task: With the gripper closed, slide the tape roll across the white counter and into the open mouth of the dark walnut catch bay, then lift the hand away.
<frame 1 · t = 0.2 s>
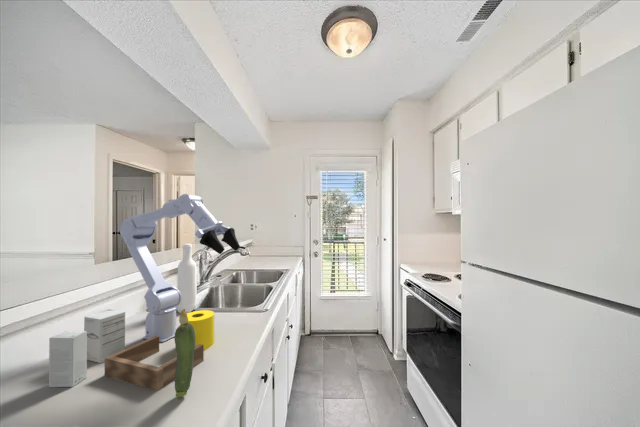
hand: (230, 250, 86), 31 cm above the worktop, tool tilted 45°, fingers open, 7 cm apart
tape roll: (197, 345, 88), on the worktop
catch bay: (158, 366, 74), on the worktop
bottle: (187, 310, 122), on the worktop
supplement box: (104, 356, 81), on the worktop
skincare box: (68, 383, 67), on the worktop
vegetable: (185, 395, 62), on the worktop
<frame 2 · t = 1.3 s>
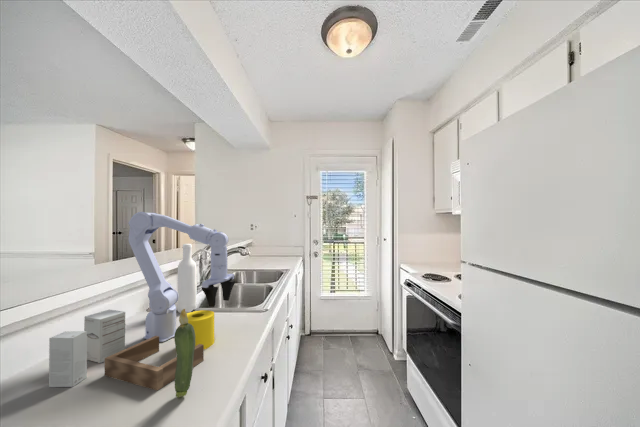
hand: (219, 303, 97), 10 cm above the worktop, tool pointing down, fingers open, 7 cm apart
nothing on the worktop moved.
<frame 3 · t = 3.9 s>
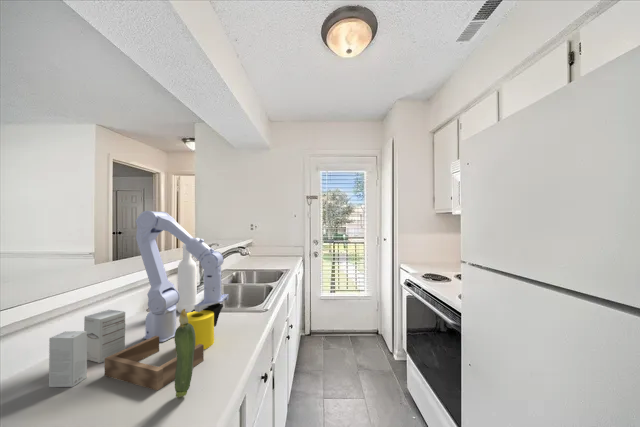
hand: (212, 326, 94), 3 cm above the worktop, tool pointing down, fingers closed
tape roll: (197, 345, 87), on the worktop, touching gripper
everything else where it was.
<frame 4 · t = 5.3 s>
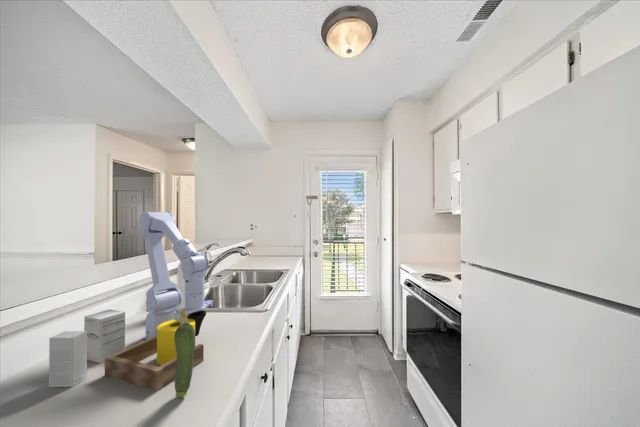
hand: (194, 335, 86), 3 cm above the worktop, tool pointing down, fingers closed
tape roll: (176, 357, 80), on the worktop, touching gripper
everything else where it was.
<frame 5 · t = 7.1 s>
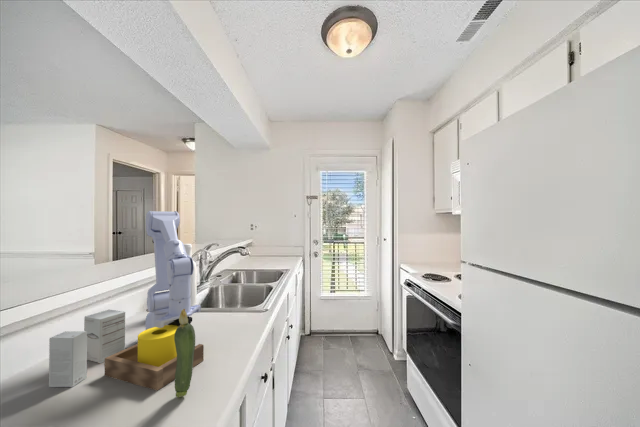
hand: (180, 342, 81), 3 cm above the worktop, tool pointing down, fingers closed
tape roll: (159, 367, 74), on the worktop, touching gripper
everything else where it was.
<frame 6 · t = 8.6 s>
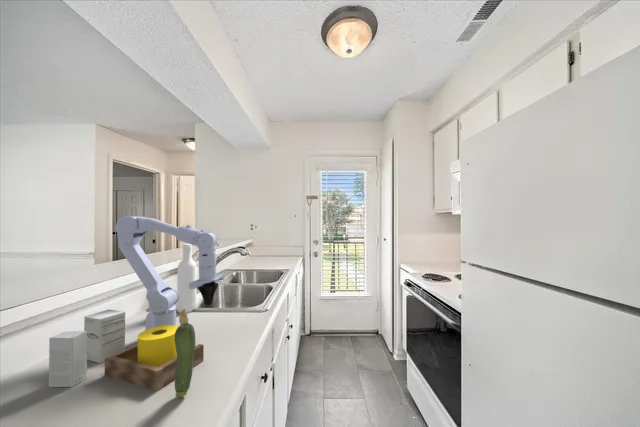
hand: (208, 304, 96), 10 cm above the worktop, tool pointing down, fingers closed
tape roll: (159, 367, 74), on the worktop
everything else where it was.
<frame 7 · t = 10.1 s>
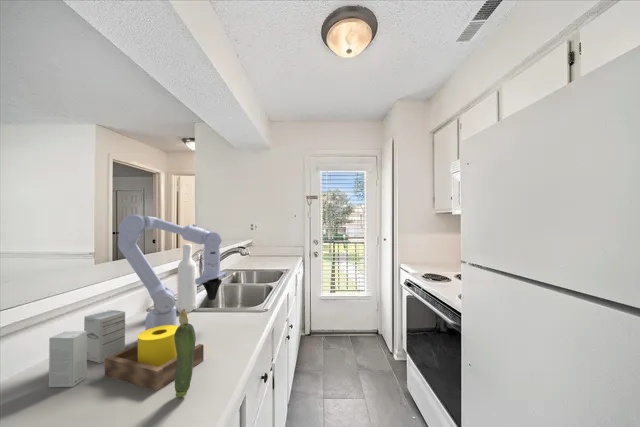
hand: (212, 299, 102), 10 cm above the worktop, tool pointing down, fingers closed
nothing on the worktop moved.
at the end: tape roll inside the target area on the catch bay (1.9 cm from its centre), point 0.0 cm above the catch bay's base; tape roll tilted 0°; tape roll moved 13.9 cm from its start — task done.
